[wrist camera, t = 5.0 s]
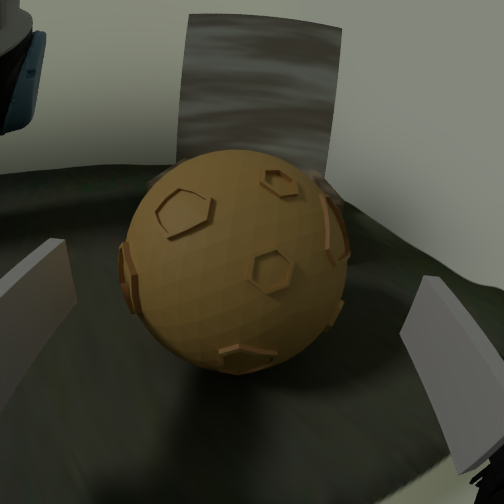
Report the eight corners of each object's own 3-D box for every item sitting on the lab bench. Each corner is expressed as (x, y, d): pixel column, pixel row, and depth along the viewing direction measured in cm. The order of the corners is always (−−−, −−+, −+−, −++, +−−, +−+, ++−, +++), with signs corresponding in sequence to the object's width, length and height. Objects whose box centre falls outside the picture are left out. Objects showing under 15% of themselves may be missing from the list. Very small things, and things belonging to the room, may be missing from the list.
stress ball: (178, 301, 20) (54, 250, 12) (267, 189, 21) (185, 82, 12) (280, 408, 15) (156, 443, 7) (394, 268, 15) (393, 150, 7)
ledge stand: (345, 269, 25) (385, -11, 14) (134, 248, 25) (151, -31, 14) (315, 209, 39) (338, 32, 29) (179, 196, 39) (192, 18, 28)
